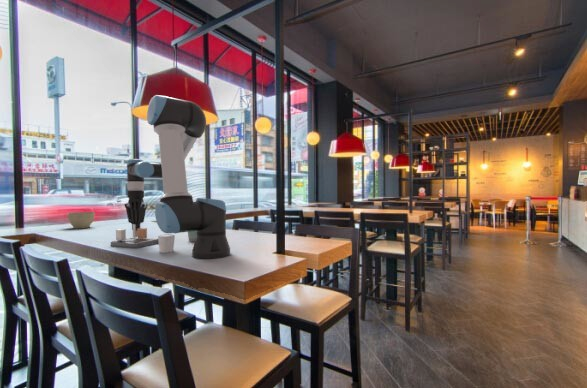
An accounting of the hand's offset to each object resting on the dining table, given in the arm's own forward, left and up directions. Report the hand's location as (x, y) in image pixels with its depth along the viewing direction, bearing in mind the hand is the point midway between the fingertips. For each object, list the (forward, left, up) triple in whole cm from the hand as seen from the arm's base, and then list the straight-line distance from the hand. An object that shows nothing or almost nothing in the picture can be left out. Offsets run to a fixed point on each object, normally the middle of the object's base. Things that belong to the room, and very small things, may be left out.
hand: (136, 236), depth 152 cm
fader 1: (+2, +7, -1) cm, 7 cm away
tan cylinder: (-4, 0, -1) cm, 4 cm away
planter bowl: (+88, -35, -3) cm, 95 cm away
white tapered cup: (-29, +11, -3) cm, 32 cm away
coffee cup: (-24, -15, -3) cm, 29 cm away
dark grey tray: (-3, +3, -3) cm, 6 cm away
